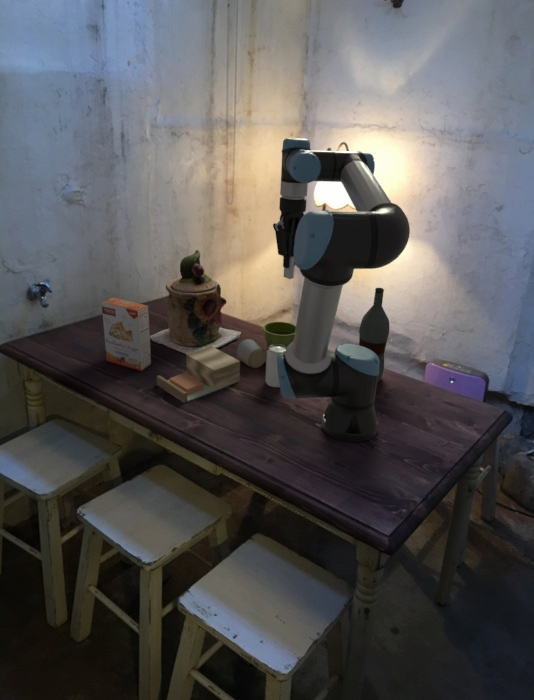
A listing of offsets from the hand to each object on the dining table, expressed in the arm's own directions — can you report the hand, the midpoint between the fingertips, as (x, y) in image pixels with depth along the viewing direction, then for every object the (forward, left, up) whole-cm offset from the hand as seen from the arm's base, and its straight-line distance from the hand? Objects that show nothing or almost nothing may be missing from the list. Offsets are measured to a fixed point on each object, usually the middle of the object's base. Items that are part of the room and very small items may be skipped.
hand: (288, 277), depth 170 cm
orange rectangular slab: (+12, +29, -30) cm, 44 cm away
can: (-3, +6, -33) cm, 33 cm away
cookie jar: (+39, +5, -33) cm, 51 cm away
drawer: (+12, +30, -32) cm, 45 cm away
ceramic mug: (+12, +2, -33) cm, 35 cm away
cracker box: (+37, +34, -33) cm, 60 cm away
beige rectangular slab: (+12, +19, -32) cm, 39 cm away
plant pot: (+9, -7, -33) cm, 35 cm away
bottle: (-19, -20, -33) cm, 43 cm away
